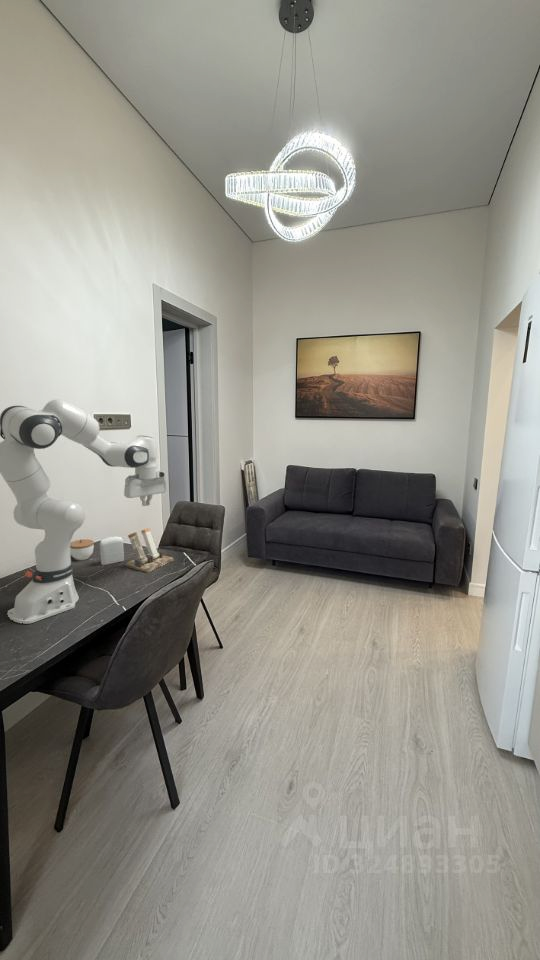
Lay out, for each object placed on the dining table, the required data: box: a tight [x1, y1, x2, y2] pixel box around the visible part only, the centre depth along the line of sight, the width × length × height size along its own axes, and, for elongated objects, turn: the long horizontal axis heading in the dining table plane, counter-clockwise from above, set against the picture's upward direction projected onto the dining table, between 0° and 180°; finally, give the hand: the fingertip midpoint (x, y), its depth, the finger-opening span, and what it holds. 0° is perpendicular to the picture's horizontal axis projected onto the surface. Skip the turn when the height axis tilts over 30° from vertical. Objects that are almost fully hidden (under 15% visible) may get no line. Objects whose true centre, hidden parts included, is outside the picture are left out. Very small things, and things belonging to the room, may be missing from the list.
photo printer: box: [99, 536, 125, 566], centre depth 178 cm, size 10×4×12 cm, turn 124°
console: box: [125, 532, 174, 573], centre depth 177 cm, size 16×14×16 cm
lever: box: [140, 527, 160, 559], centre depth 179 cm, size 4×3×15 cm, turn 150°
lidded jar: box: [70, 538, 95, 561], centre depth 183 cm, size 11×11×9 cm
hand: (146, 505), depth 165 cm, fingers closed
